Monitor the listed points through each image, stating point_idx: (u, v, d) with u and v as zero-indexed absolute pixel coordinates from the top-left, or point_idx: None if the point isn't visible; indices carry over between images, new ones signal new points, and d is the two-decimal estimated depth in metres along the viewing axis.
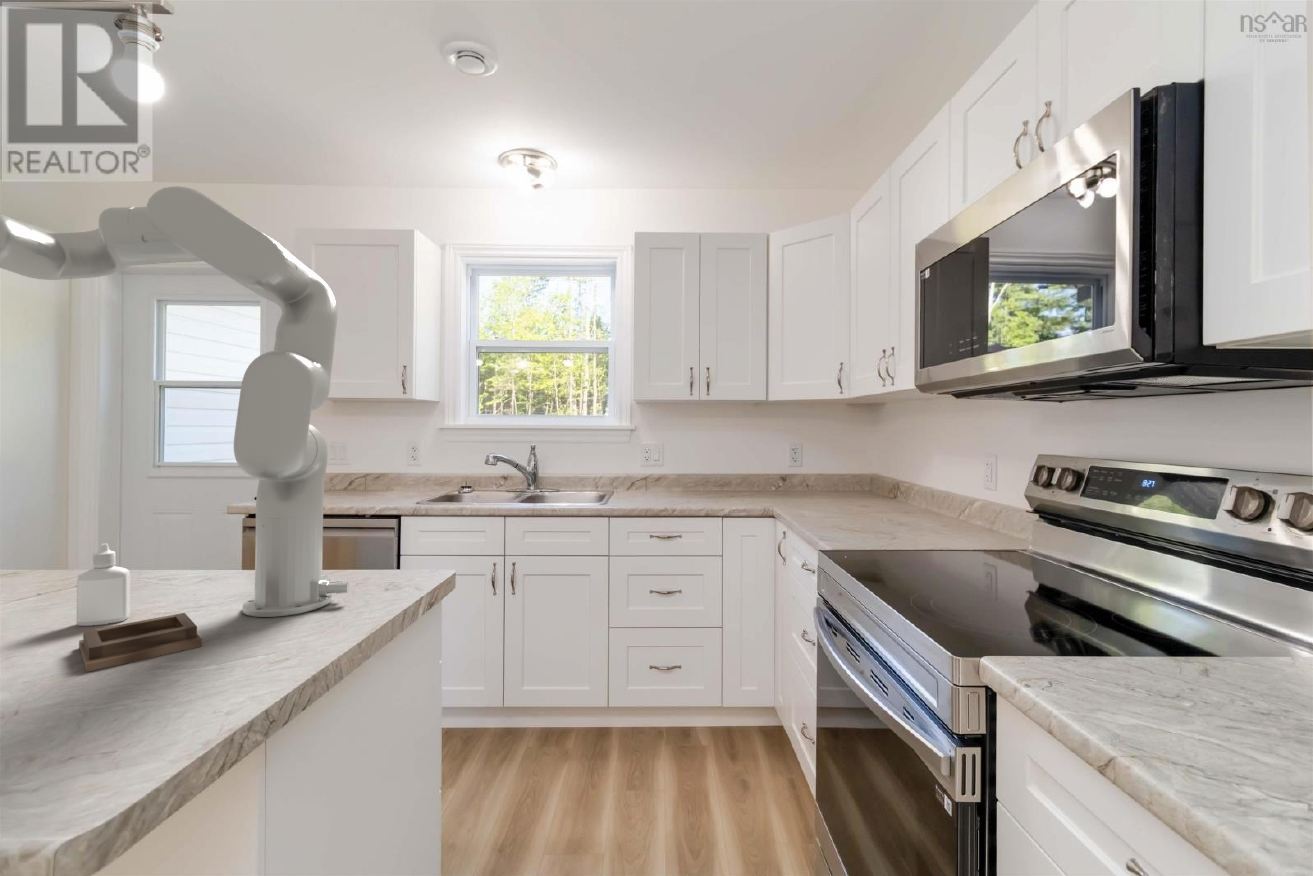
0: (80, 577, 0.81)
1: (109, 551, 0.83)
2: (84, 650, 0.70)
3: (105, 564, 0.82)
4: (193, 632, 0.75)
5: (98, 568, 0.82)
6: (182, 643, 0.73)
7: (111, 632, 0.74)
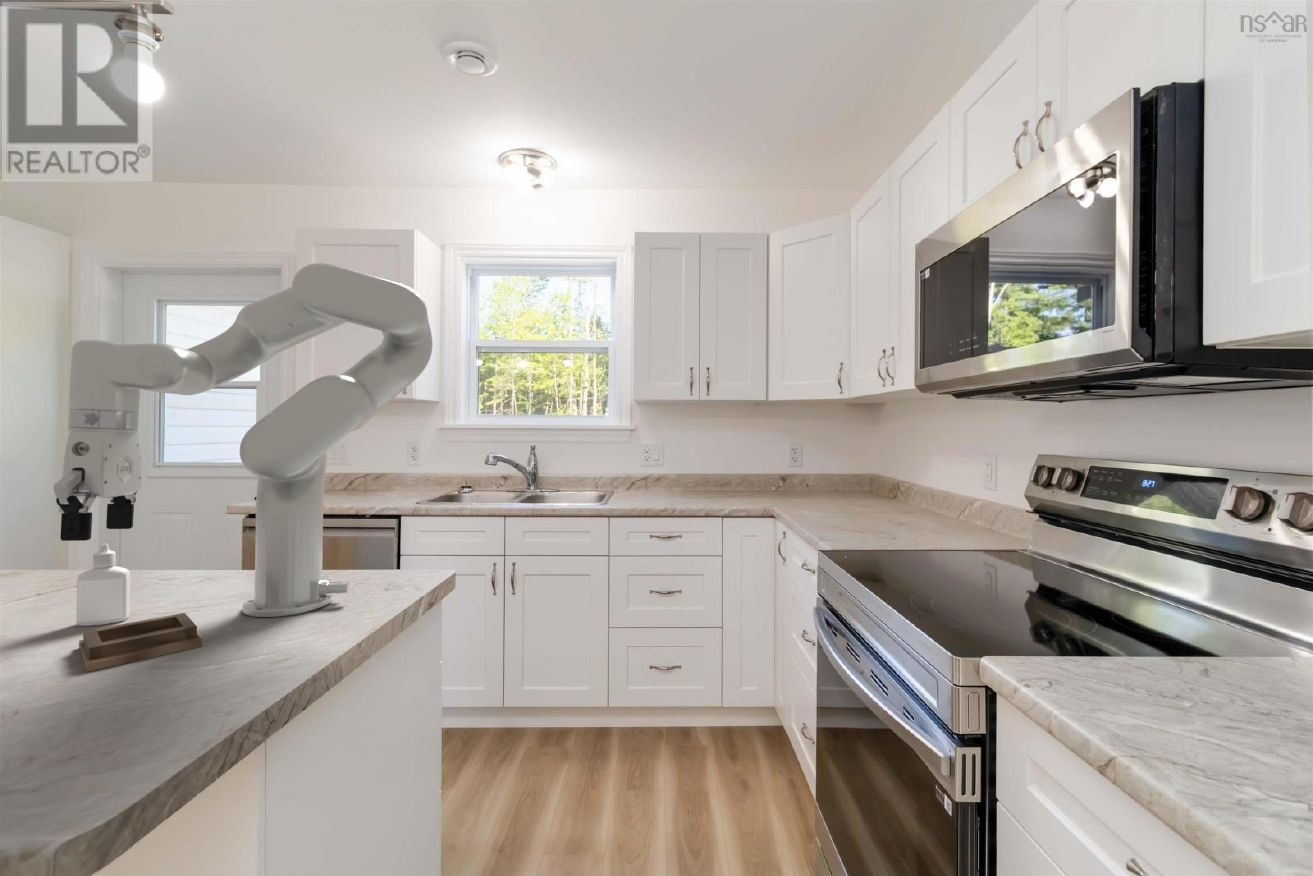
0: (80, 577, 0.81)
1: (109, 551, 0.83)
2: (84, 650, 0.70)
3: (105, 564, 0.82)
4: (193, 632, 0.75)
5: (98, 568, 0.82)
6: (182, 643, 0.73)
7: (111, 632, 0.74)
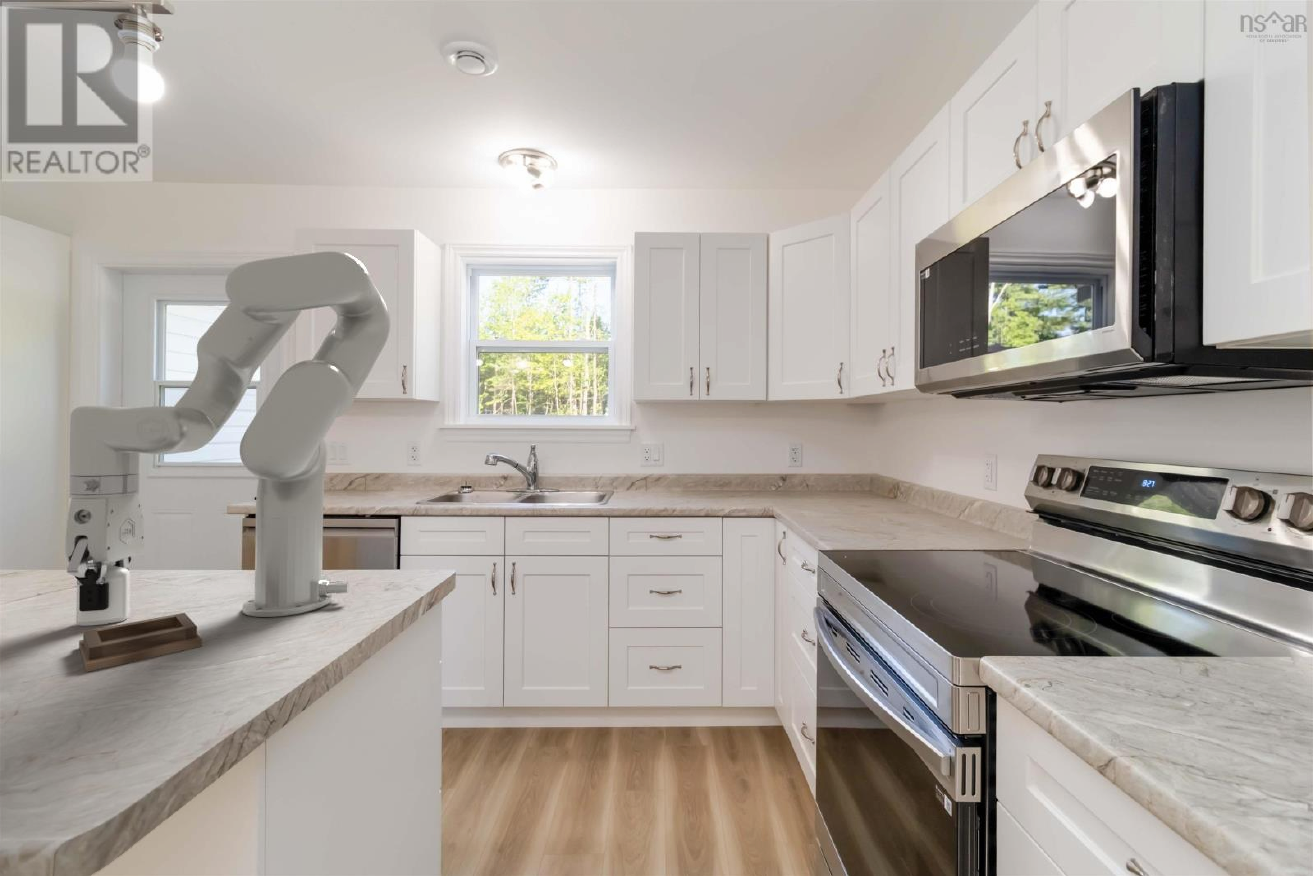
0: None
1: None
2: (84, 650, 0.70)
3: None
4: (193, 632, 0.75)
5: None
6: (182, 643, 0.73)
7: (111, 632, 0.74)
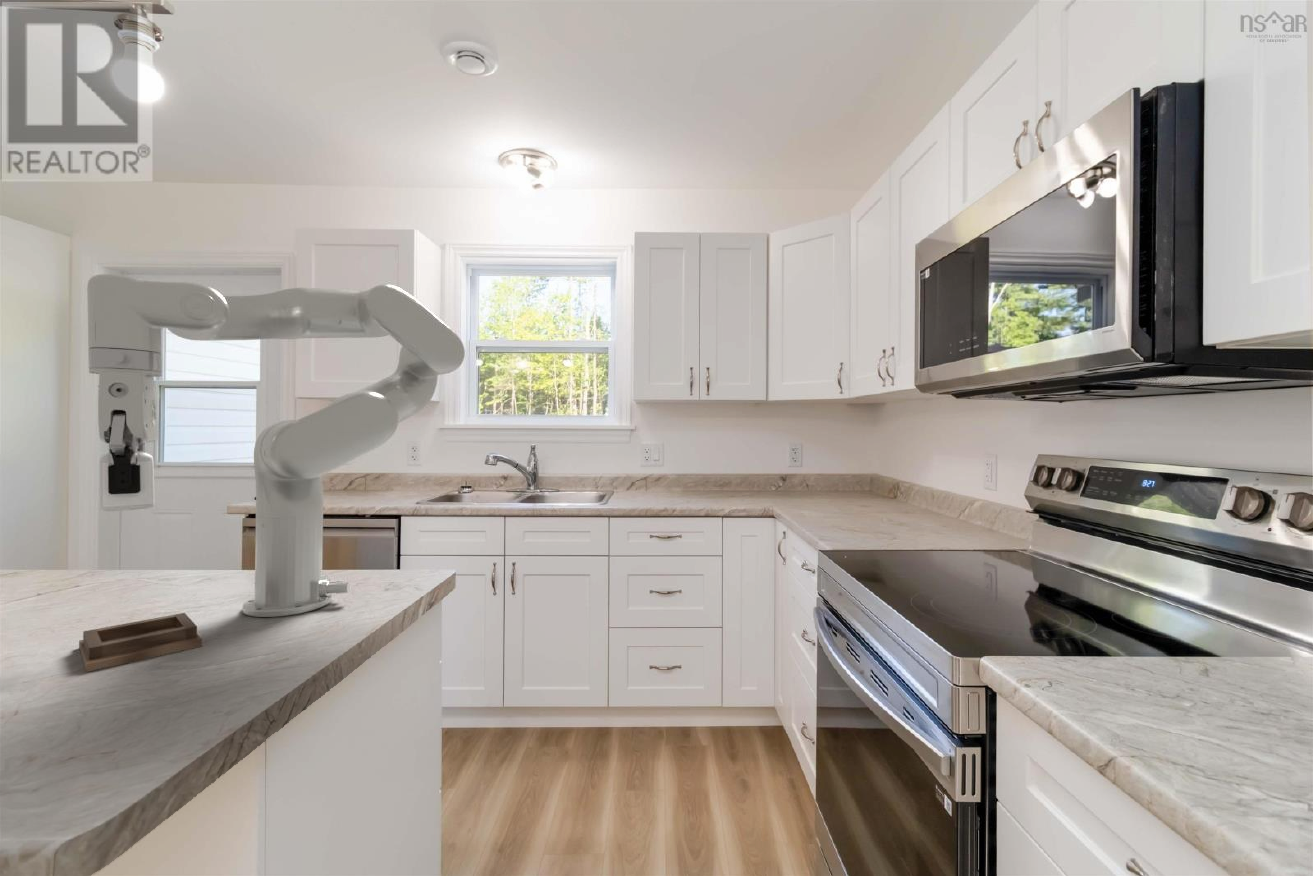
0: (104, 459, 0.76)
1: None
2: (84, 650, 0.70)
3: None
4: (193, 632, 0.75)
5: None
6: (182, 643, 0.73)
7: (111, 632, 0.74)
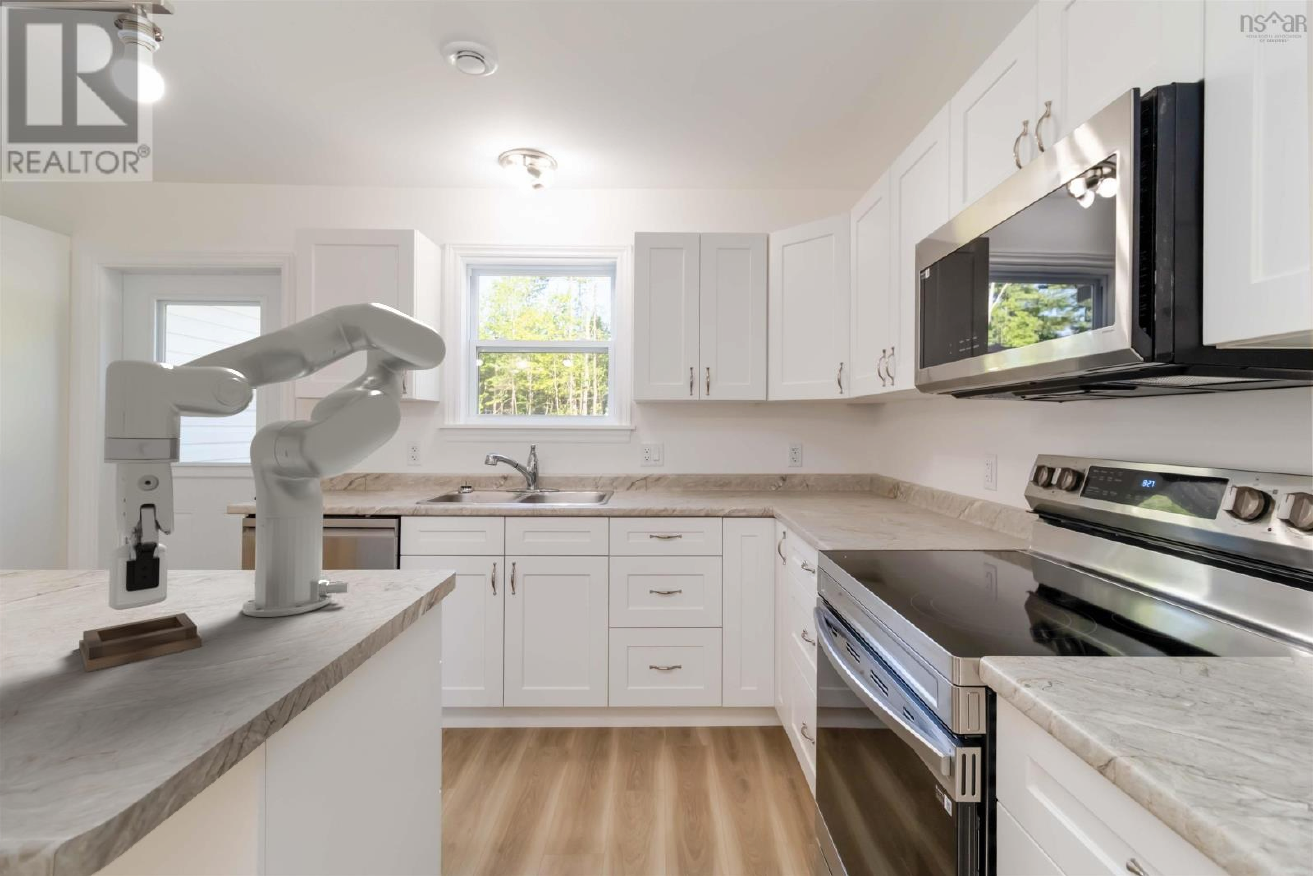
0: (120, 554, 0.71)
1: None
2: (84, 650, 0.70)
3: None
4: (193, 632, 0.75)
5: None
6: (182, 643, 0.73)
7: (111, 632, 0.74)
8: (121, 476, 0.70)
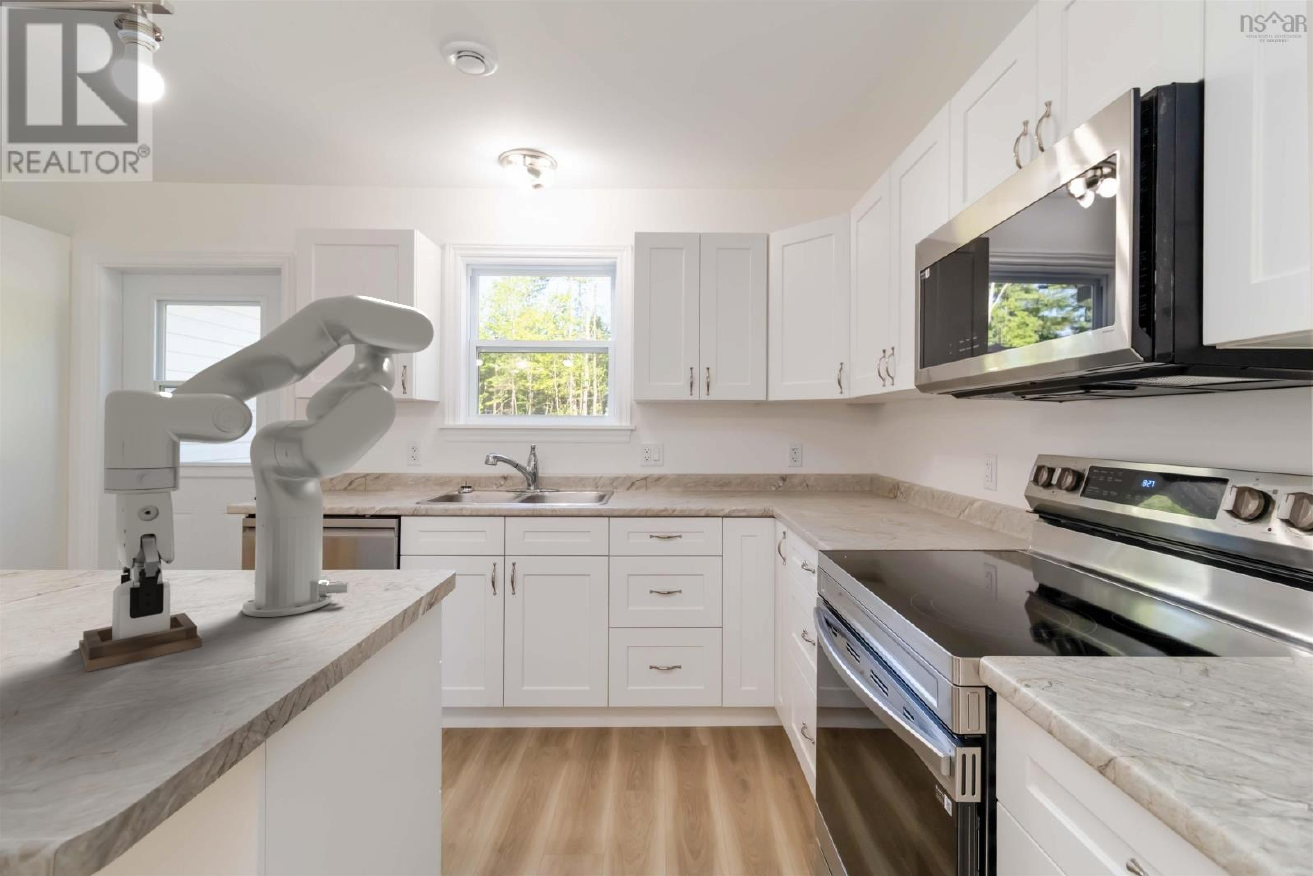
0: (122, 591, 0.71)
1: None
2: (84, 650, 0.70)
3: None
4: (193, 632, 0.75)
5: None
6: (182, 643, 0.73)
7: (111, 632, 0.74)
8: (121, 507, 0.70)
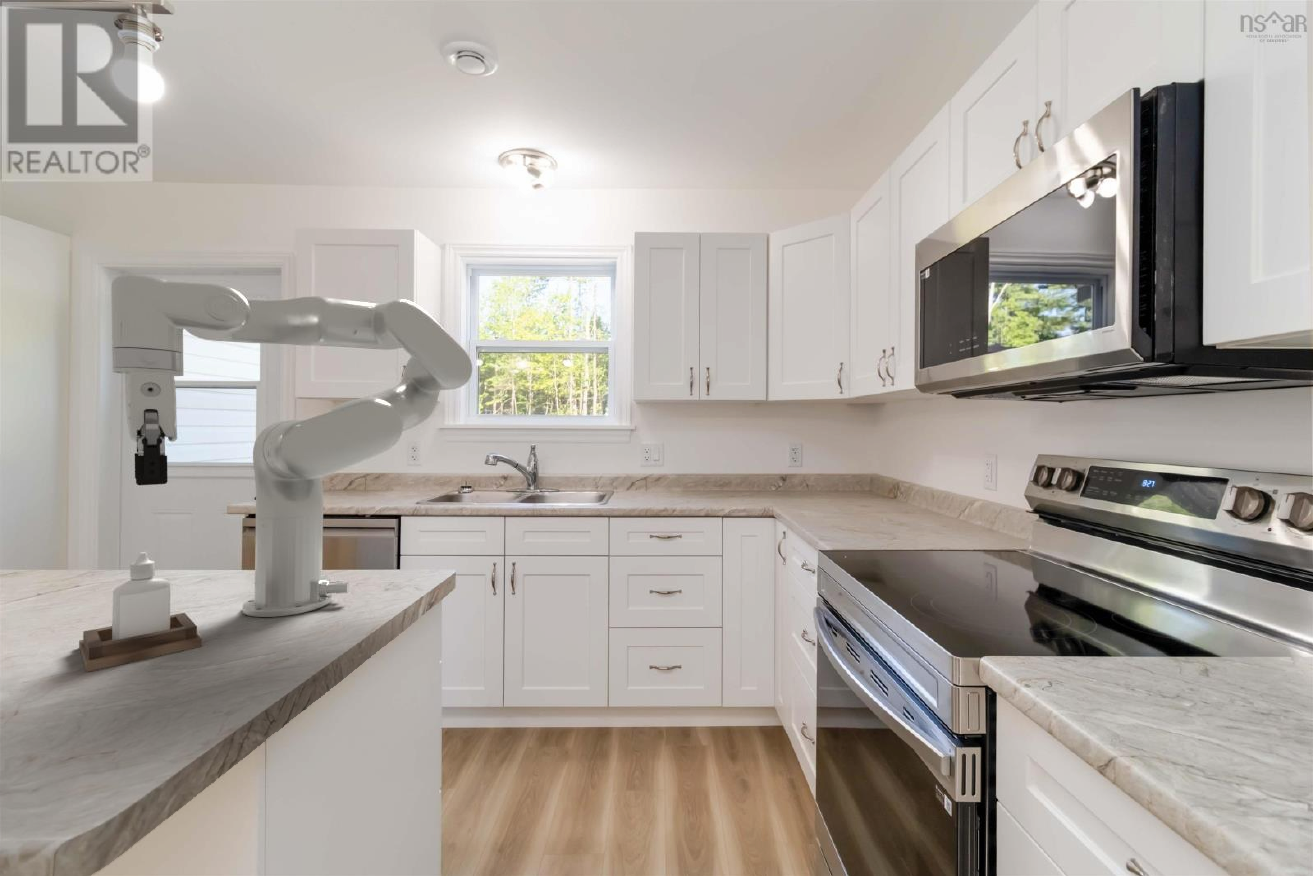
0: (122, 591, 0.71)
1: (149, 560, 0.74)
2: (84, 650, 0.70)
3: (149, 574, 0.74)
4: (193, 632, 0.75)
5: (141, 580, 0.73)
6: (182, 643, 0.73)
7: (111, 632, 0.74)
8: (127, 383, 0.75)
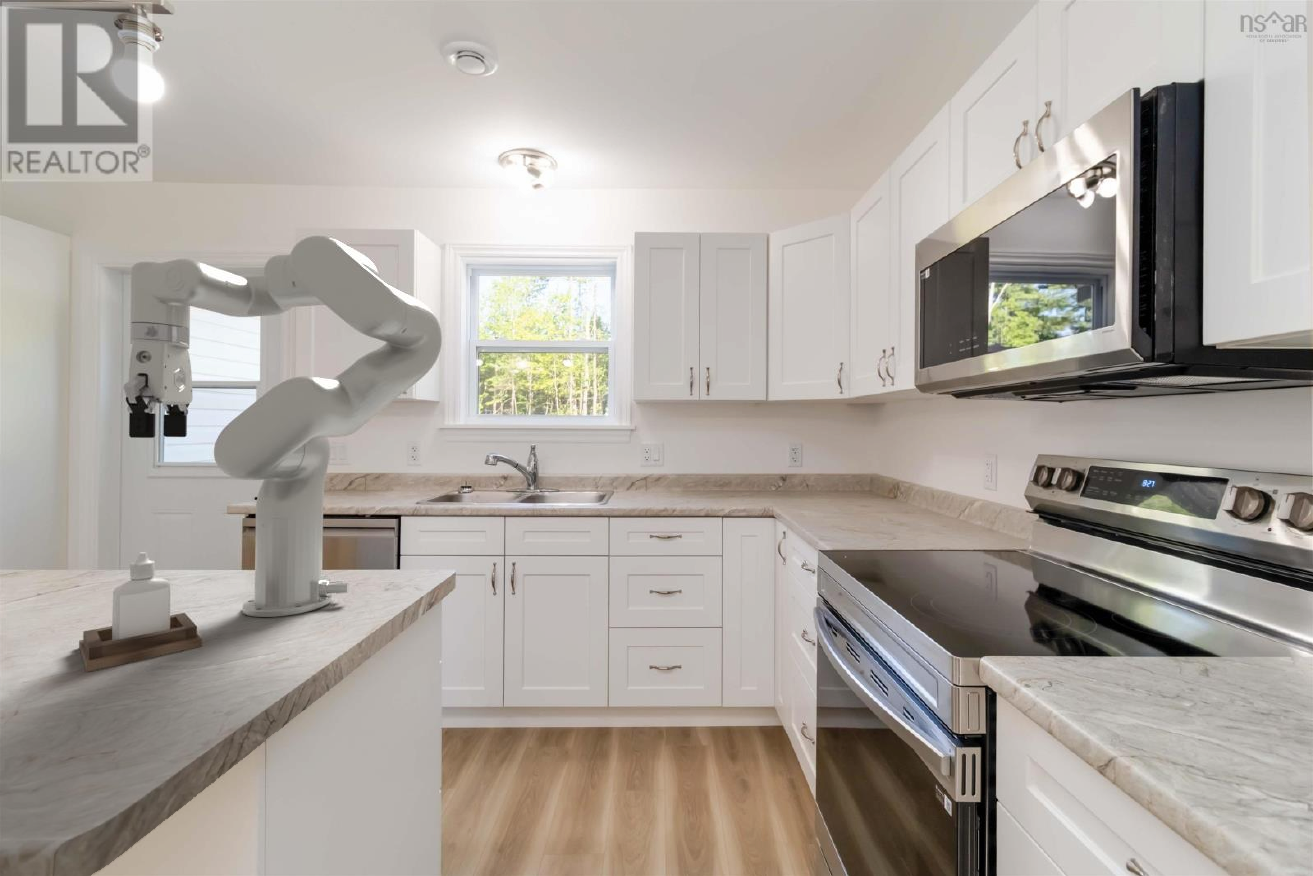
0: (122, 591, 0.71)
1: (149, 560, 0.74)
2: (84, 650, 0.70)
3: (149, 574, 0.74)
4: (193, 632, 0.75)
5: (141, 580, 0.73)
6: (182, 643, 0.73)
7: (111, 632, 0.74)
8: None
